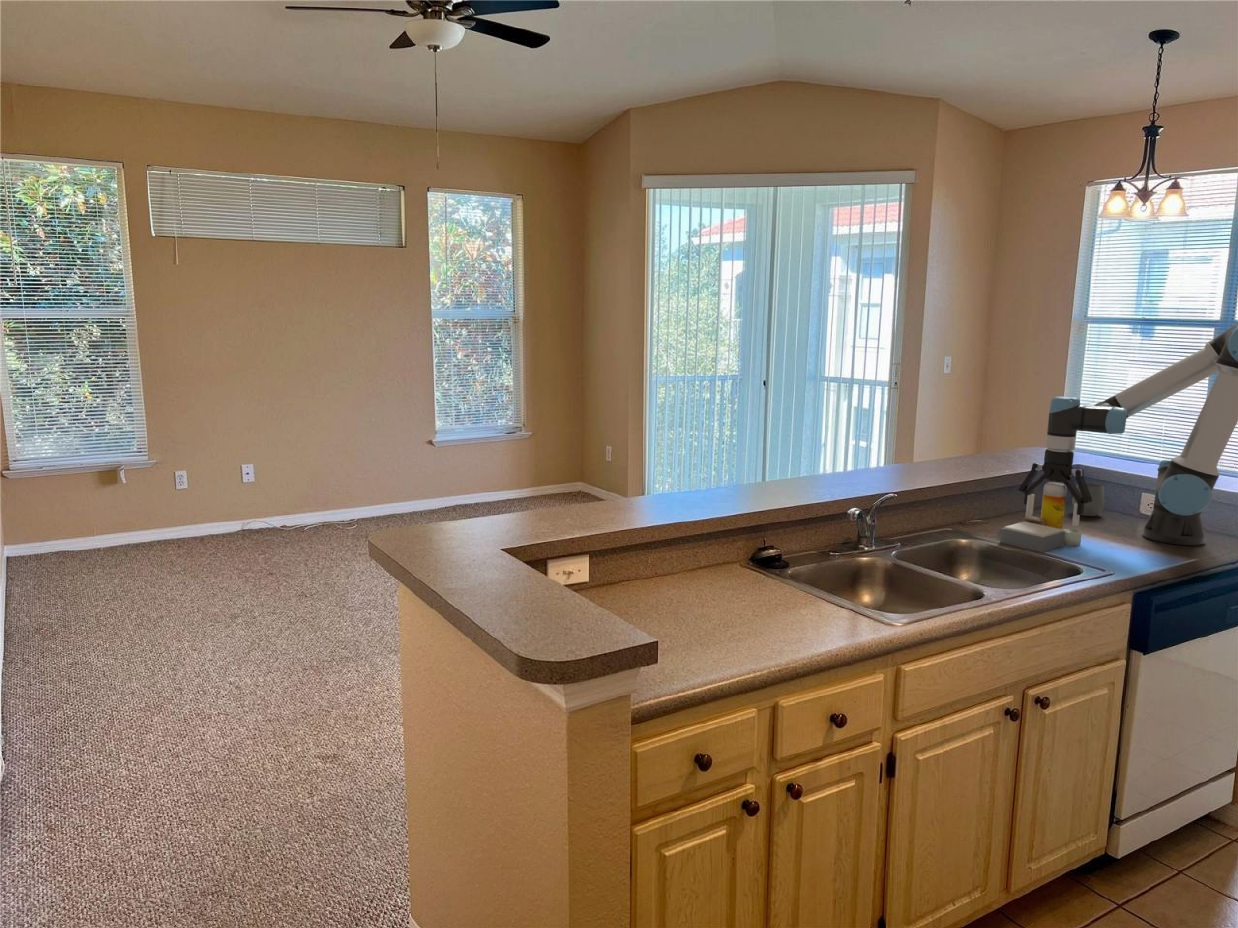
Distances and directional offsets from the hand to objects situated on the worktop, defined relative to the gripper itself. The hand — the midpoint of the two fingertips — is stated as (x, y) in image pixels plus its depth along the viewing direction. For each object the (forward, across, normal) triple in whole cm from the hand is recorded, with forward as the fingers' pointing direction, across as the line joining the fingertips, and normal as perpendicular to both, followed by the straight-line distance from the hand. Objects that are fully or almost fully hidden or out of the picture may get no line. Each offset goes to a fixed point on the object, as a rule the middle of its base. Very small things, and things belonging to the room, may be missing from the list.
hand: (1051, 520), depth 249 cm
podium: (+4, -3, +17) cm, 18 cm away
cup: (+4, +5, -35) cm, 36 cm away
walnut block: (+4, +2, +6) cm, 8 cm away
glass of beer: (+4, 0, 0) cm, 4 cm away
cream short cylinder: (+4, -8, +7) cm, 12 cm away
